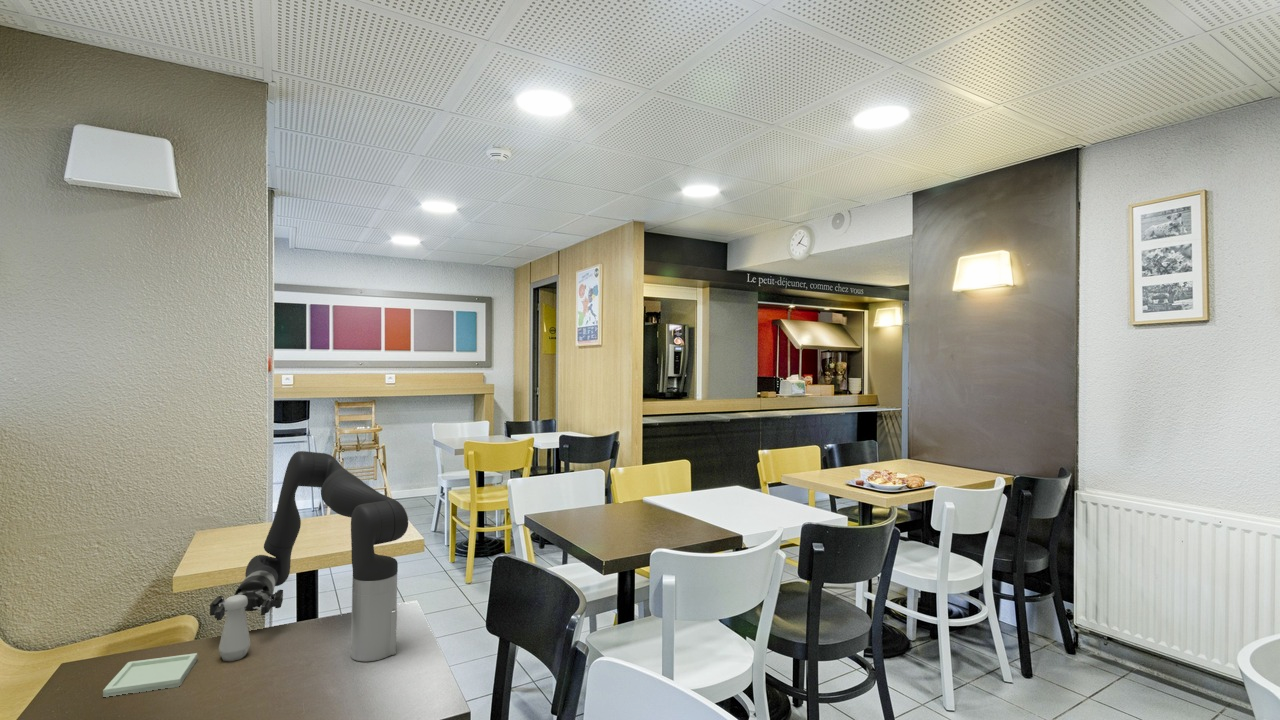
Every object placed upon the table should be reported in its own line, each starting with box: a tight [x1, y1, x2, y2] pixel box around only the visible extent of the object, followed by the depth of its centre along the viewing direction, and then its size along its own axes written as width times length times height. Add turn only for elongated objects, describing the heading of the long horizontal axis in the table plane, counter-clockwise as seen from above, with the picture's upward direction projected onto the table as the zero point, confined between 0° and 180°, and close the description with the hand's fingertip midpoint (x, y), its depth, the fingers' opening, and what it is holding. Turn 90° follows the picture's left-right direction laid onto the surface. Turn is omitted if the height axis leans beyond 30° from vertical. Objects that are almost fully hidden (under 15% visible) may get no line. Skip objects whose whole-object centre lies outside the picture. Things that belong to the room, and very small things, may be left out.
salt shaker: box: [218, 594, 251, 662], centre depth 134 cm, size 6×6×13 cm
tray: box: [102, 652, 198, 698], centre depth 125 cm, size 12×12×2 cm
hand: (241, 613), depth 139 cm, fingers open, 8 cm apart
